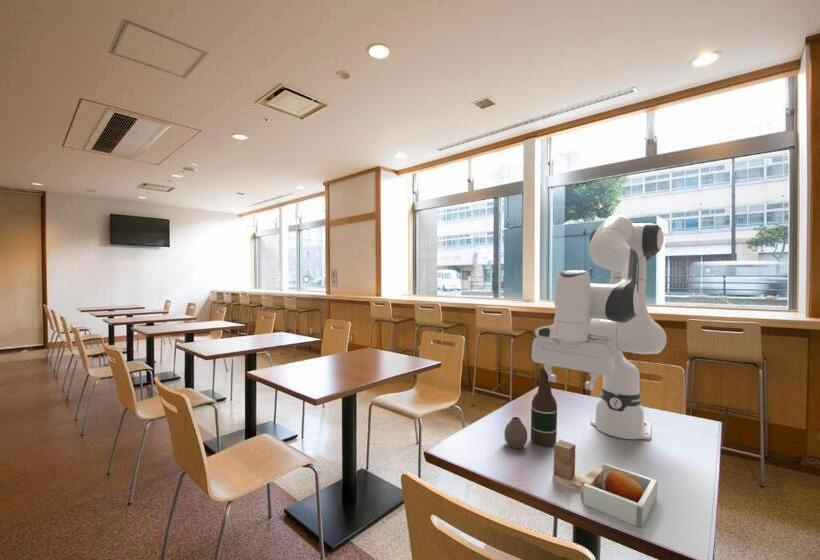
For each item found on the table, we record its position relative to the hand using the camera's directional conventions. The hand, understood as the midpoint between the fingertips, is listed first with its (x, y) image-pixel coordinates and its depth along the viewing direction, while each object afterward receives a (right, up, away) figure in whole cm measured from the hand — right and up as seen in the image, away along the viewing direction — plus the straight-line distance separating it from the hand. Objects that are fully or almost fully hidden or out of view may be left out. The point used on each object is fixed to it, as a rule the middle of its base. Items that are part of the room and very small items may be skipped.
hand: (570, 385), depth 99 cm
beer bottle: (+1, -25, +23) cm, 34 cm away
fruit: (+9, -26, -9) cm, 29 cm away
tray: (+9, -25, -8) cm, 28 cm away
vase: (-9, -25, +20) cm, 33 cm away
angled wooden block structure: (+1, -25, -1) cm, 25 cm away
